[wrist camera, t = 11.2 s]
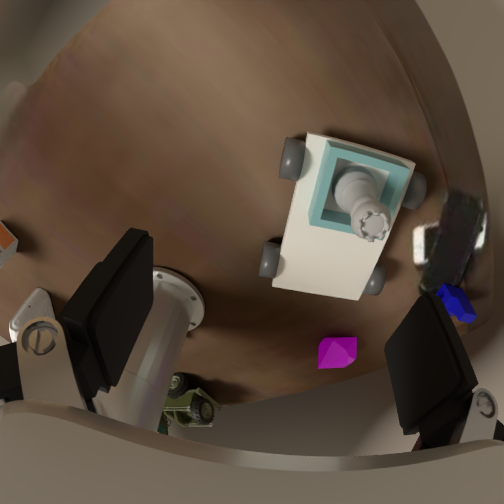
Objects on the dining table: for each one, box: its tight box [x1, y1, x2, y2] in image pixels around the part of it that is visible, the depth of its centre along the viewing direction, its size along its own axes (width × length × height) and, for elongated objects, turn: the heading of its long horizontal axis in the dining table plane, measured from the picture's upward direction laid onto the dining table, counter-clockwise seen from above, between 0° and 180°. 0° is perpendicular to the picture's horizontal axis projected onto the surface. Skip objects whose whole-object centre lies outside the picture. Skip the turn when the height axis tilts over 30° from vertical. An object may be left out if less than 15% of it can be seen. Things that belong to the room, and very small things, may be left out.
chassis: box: [259, 132, 427, 300], centre depth 30 cm, size 18×15×6 cm
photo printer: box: [9, 288, 55, 342], centre depth 43 cm, size 10×4×12 cm, turn 162°
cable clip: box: [436, 283, 477, 323], centre depth 37 cm, size 12×4×6 cm, turn 165°
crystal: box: [318, 337, 357, 368], centre depth 42 cm, size 5×5×5 cm
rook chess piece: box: [332, 166, 391, 242], centre depth 23 cm, size 4×4×8 cm
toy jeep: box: [157, 372, 221, 435], centre depth 55 cm, size 12×25×11 cm, turn 116°
